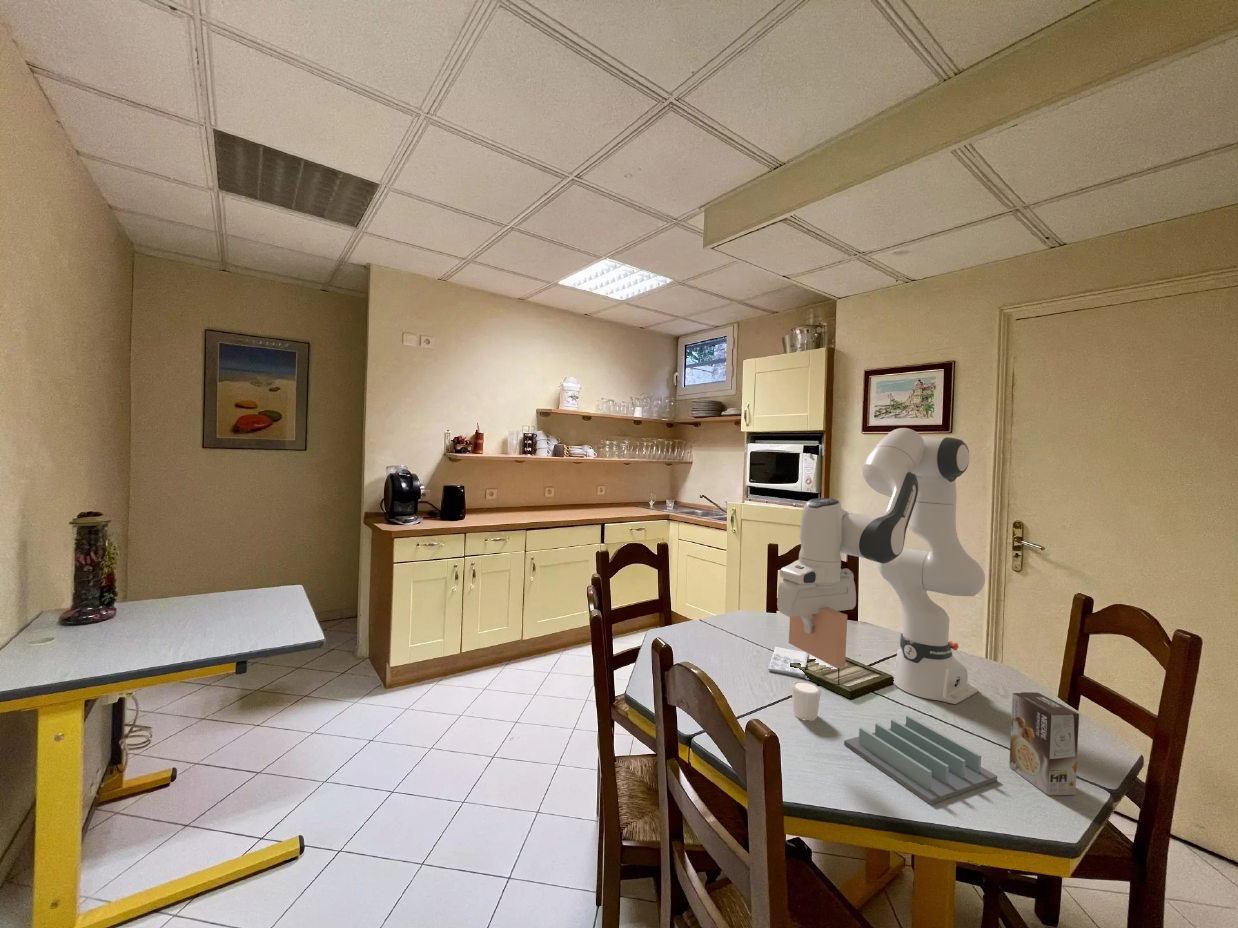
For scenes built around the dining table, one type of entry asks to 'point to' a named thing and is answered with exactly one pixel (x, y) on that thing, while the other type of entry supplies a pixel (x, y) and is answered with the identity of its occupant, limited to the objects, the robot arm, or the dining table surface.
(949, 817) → the dining table surface
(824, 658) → the salmon pink panel
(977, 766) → the dish rack
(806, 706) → the white cylinder
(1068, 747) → the coffee box
